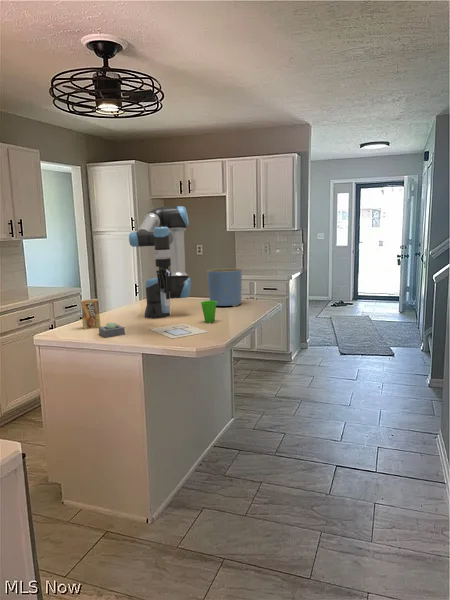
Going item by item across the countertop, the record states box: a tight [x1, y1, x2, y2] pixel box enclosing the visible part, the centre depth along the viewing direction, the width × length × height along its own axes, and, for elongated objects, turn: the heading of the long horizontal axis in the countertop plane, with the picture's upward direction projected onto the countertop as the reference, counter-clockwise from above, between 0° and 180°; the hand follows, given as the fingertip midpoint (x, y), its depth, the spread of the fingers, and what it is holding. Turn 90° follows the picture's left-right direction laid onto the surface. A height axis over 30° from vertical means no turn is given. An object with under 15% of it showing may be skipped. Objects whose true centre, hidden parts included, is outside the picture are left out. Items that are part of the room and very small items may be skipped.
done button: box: [105, 322, 117, 329], centre depth 231 cm, size 5×5×4 cm
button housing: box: [98, 324, 126, 338], centre depth 231 cm, size 10×10×4 cm
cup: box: [200, 300, 217, 324], centre depth 252 cm, size 9×9×11 cm
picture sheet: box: [149, 323, 209, 340], centre depth 233 cm, size 26×20×1 cm
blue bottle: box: [160, 288, 171, 313], centre depth 230 cm, size 4×4×12 cm
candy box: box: [80, 298, 101, 330], centre depth 249 cm, size 9×4×15 cm, turn 116°
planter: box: [206, 267, 243, 308], centre depth 303 cm, size 23×23×24 cm
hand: (165, 304), depth 231 cm, fingers closed on blue bottle, 4 cm apart
